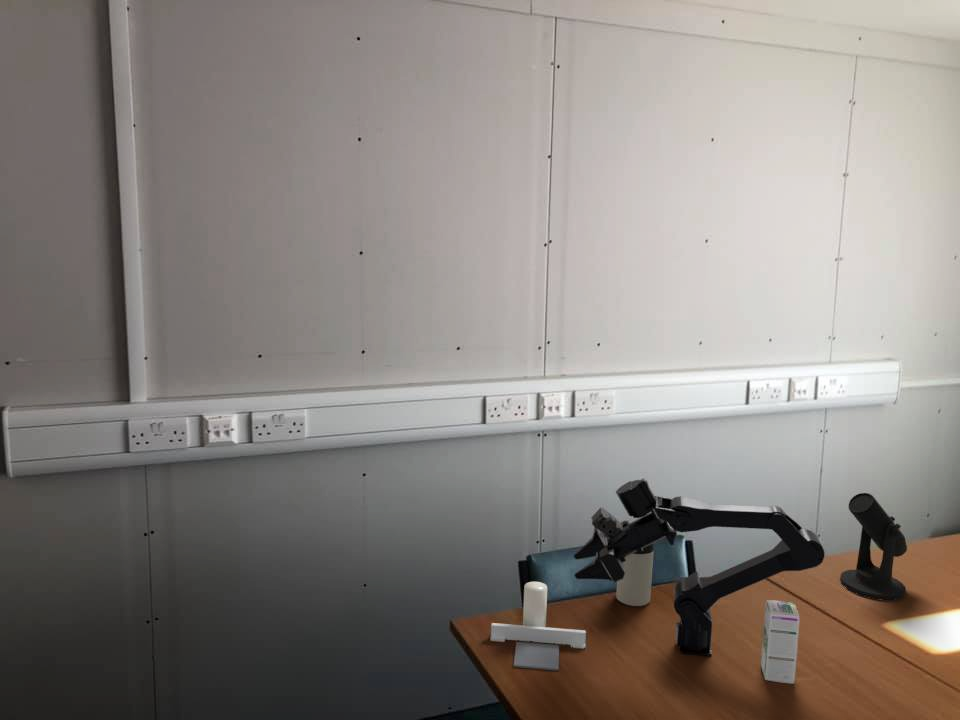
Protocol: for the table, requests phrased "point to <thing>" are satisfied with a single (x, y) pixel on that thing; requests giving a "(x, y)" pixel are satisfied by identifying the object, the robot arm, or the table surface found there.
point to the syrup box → (780, 641)
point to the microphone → (885, 536)
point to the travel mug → (636, 578)
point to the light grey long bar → (538, 634)
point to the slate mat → (536, 656)
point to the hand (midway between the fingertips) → (575, 566)
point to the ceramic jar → (535, 604)
